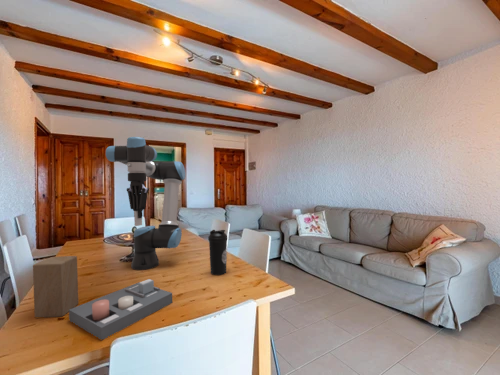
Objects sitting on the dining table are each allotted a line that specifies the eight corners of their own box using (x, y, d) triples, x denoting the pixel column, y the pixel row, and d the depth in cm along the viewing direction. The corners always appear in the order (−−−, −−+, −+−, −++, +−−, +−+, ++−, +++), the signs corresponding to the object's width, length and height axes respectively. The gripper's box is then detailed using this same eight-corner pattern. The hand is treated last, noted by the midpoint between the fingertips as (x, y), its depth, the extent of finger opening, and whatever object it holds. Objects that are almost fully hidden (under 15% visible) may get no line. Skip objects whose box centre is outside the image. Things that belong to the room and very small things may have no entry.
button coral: (89, 318, 84) (89, 304, 84) (104, 312, 89) (104, 298, 89) (97, 322, 82) (96, 308, 82) (112, 315, 86) (112, 301, 86)
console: (69, 320, 89) (68, 306, 89) (139, 290, 113) (139, 280, 113) (101, 340, 78) (101, 324, 78) (172, 302, 102) (172, 290, 101)
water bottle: (224, 276, 129) (223, 232, 128) (206, 275, 131) (205, 232, 130) (230, 269, 139) (229, 228, 138) (212, 268, 141) (212, 228, 140)
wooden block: (53, 305, 101) (51, 256, 101) (79, 303, 102) (77, 255, 101) (34, 318, 91) (32, 264, 91) (62, 316, 92) (61, 263, 91)
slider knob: (138, 293, 101) (138, 282, 101) (149, 288, 105) (149, 278, 105) (143, 294, 99) (142, 284, 99) (153, 290, 104) (153, 280, 104)
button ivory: (115, 313, 92) (115, 299, 92) (128, 307, 96) (128, 294, 96) (123, 316, 90) (123, 303, 89) (136, 310, 94) (135, 297, 94)
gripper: (120, 172, 110) (121, 225, 111) (138, 171, 103) (139, 228, 104) (135, 173, 117) (137, 223, 117) (153, 172, 110) (155, 225, 110)
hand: (138, 225), depth 110 cm, fingers closed
